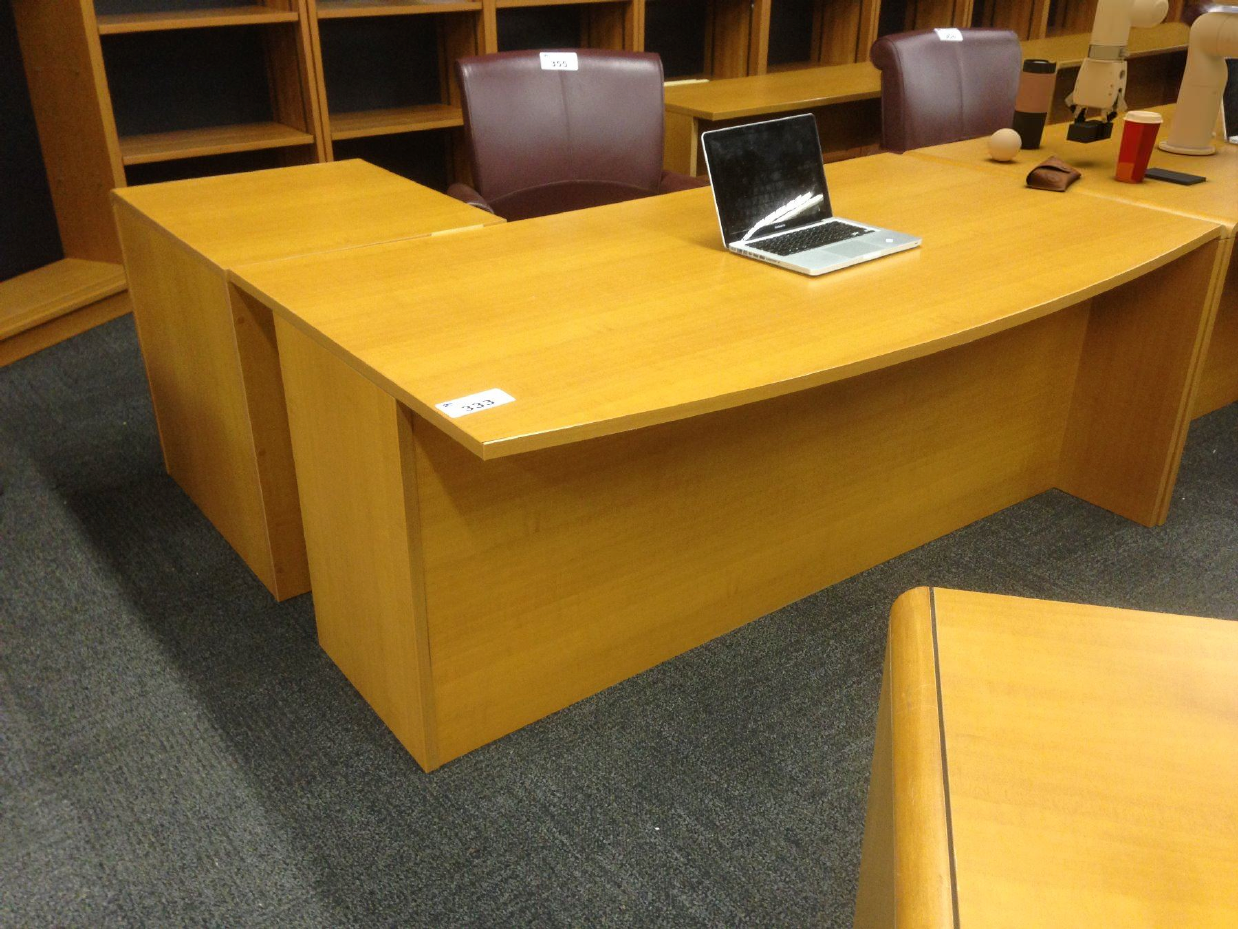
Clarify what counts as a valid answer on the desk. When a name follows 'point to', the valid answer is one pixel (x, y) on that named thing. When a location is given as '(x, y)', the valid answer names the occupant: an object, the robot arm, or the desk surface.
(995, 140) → the cream ovoid piece
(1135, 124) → the paper cup
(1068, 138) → the black block
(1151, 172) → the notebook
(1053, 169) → the sunglasses case
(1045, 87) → the travel mug
